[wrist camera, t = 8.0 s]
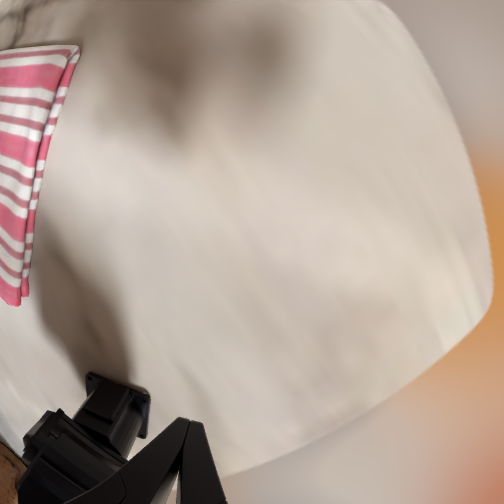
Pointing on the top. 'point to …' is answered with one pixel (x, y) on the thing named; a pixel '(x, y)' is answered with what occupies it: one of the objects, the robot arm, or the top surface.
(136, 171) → the top surface
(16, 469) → the block
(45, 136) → the dish towel
